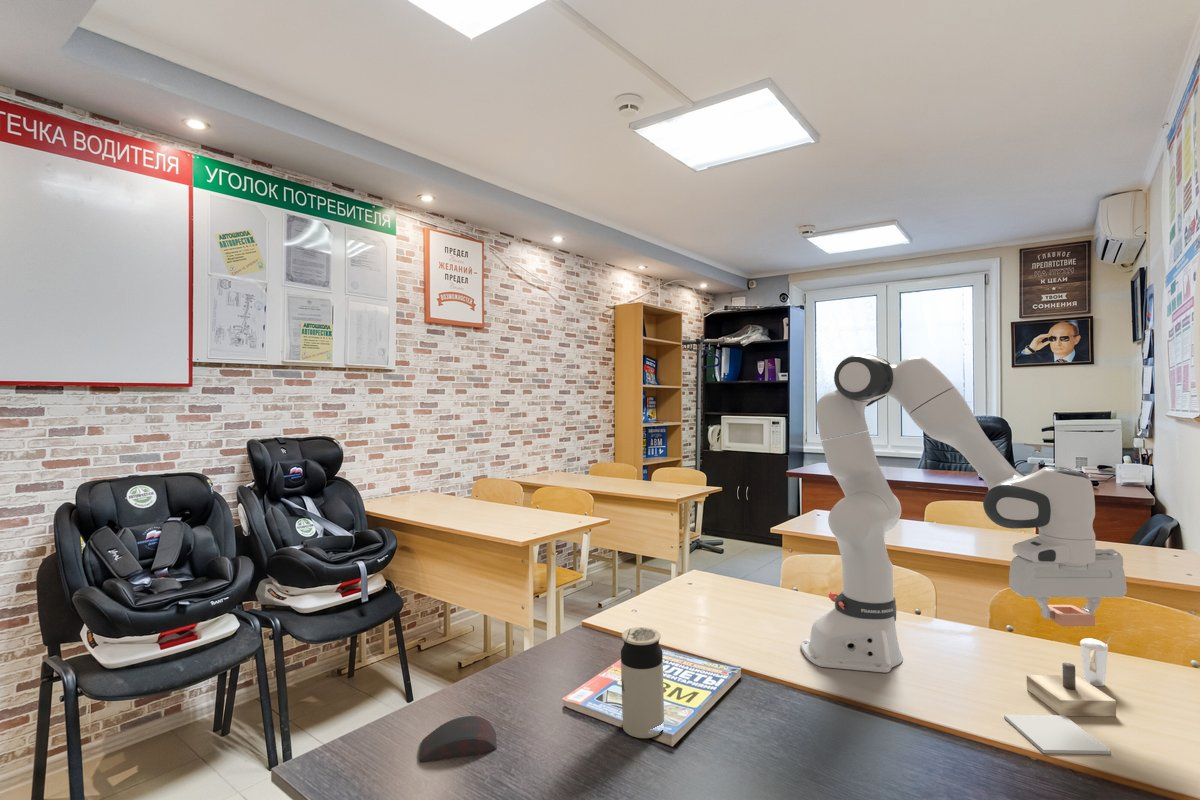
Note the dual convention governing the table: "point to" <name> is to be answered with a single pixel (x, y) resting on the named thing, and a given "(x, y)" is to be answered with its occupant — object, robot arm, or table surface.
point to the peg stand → (1071, 694)
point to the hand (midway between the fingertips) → (1067, 618)
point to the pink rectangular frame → (1072, 616)
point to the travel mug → (642, 681)
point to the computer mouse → (459, 739)
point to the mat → (1056, 734)
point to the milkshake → (1094, 660)
